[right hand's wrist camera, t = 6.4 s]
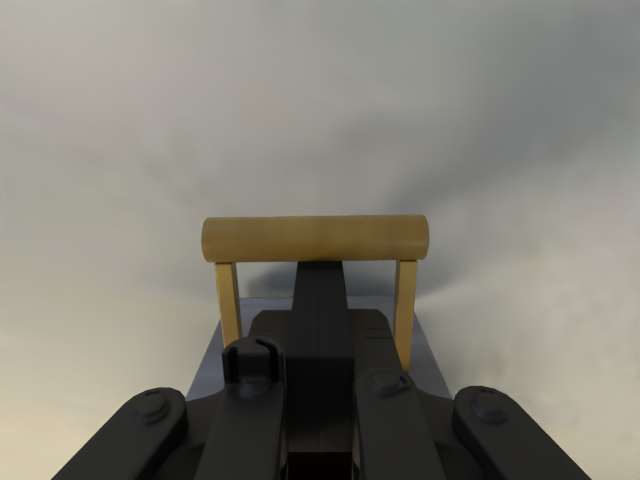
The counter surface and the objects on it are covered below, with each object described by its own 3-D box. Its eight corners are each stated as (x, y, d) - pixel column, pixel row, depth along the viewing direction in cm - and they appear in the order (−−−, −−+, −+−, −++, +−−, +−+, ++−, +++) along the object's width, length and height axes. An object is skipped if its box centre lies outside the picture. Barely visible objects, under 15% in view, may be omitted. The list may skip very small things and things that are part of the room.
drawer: (216, 182, 18) (145, 244, 10) (415, 179, 18) (484, 239, 10) (257, 558, 27) (233, 734, 20) (388, 556, 27) (415, 732, 20)
